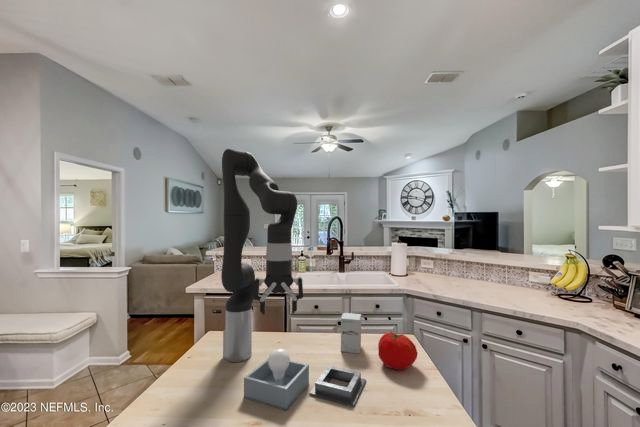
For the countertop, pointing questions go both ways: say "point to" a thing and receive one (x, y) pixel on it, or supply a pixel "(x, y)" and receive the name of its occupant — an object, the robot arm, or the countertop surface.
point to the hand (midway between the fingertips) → (278, 313)
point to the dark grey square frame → (339, 392)
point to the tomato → (397, 351)
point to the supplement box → (351, 333)
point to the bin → (266, 392)
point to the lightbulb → (279, 364)
